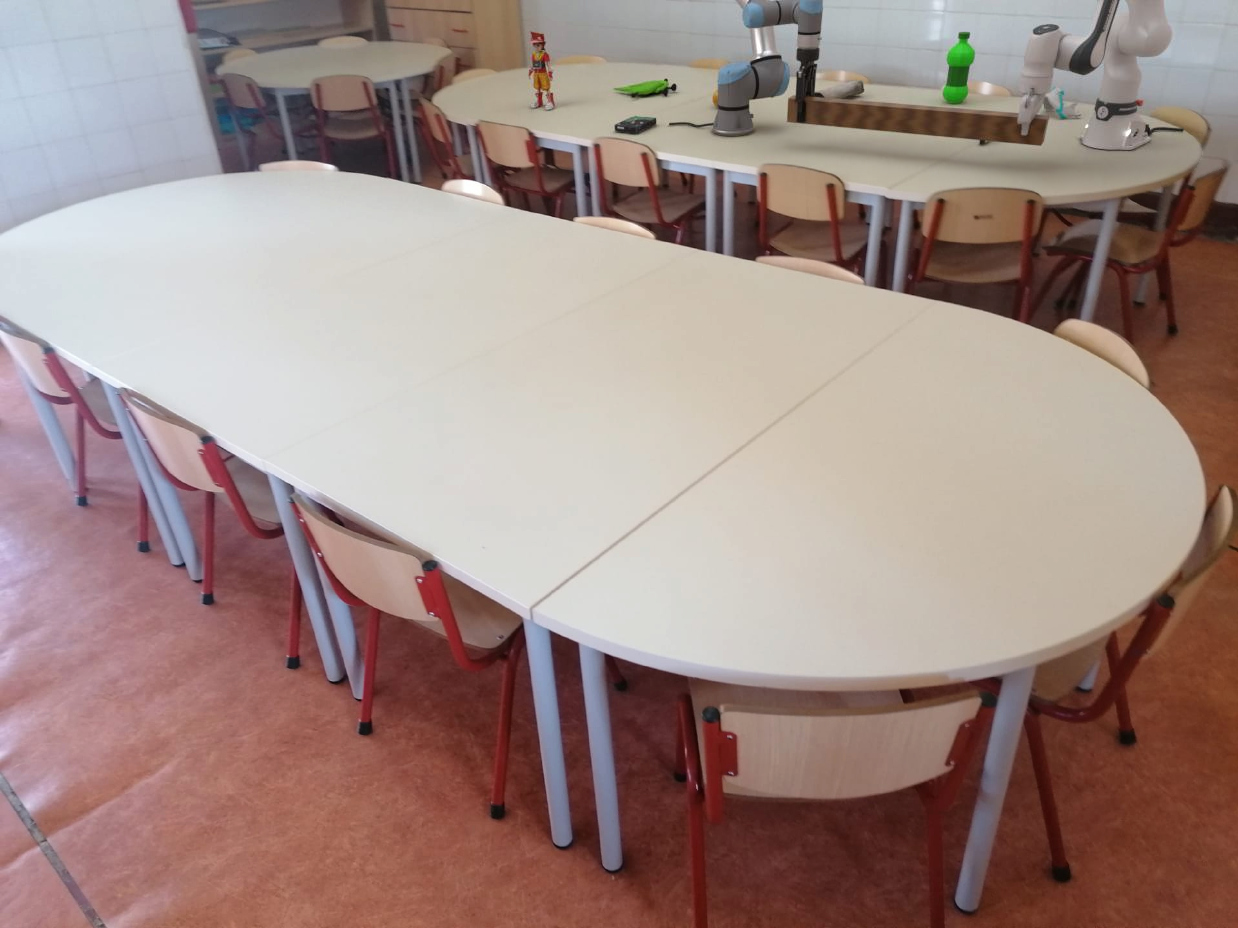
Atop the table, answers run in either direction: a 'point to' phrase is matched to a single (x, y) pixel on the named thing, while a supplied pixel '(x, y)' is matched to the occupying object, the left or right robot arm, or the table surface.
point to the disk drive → (635, 124)
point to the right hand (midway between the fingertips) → (1026, 132)
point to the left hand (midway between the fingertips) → (803, 119)
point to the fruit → (715, 98)
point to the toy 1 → (541, 71)
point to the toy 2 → (648, 88)
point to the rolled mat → (842, 90)
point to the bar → (920, 120)
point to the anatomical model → (1059, 104)
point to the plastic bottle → (958, 69)
